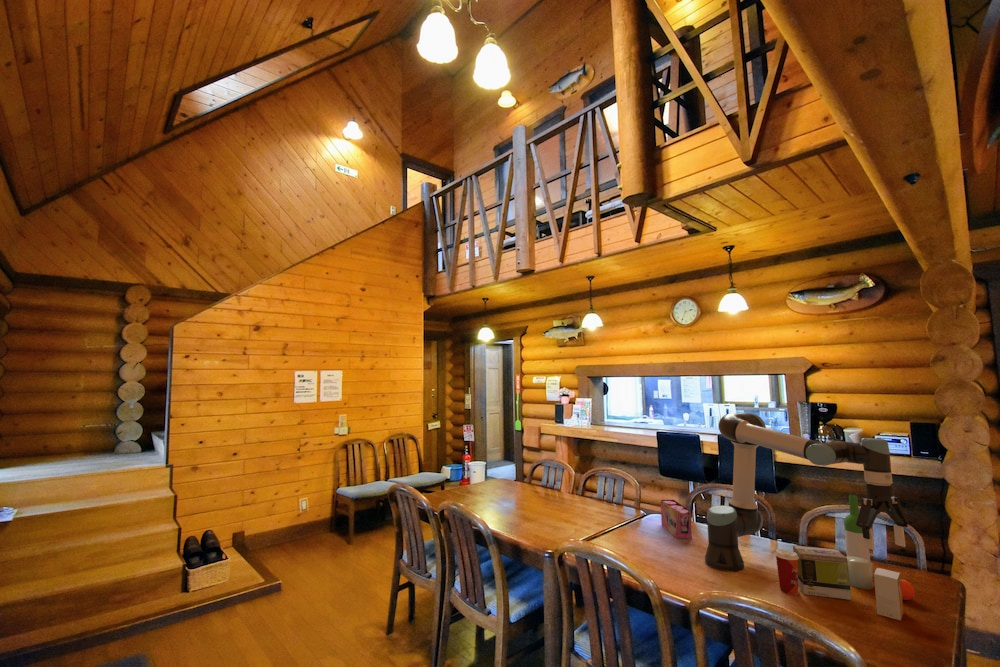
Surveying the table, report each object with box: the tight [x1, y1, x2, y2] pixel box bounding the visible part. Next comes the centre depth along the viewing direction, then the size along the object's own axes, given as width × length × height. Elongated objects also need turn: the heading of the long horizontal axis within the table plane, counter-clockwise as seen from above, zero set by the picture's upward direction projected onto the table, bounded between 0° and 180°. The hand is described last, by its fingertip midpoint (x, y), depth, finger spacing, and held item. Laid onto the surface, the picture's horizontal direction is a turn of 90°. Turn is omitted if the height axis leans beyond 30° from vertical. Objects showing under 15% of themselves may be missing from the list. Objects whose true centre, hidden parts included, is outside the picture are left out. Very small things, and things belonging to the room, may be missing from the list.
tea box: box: [792, 545, 853, 601], centre depth 168 cm, size 15×10×15 cm, turn 71°
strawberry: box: [901, 578, 916, 601], centre depth 162 cm, size 8×7×7 cm
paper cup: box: [774, 549, 799, 596], centre depth 168 cm, size 8×8×14 cm
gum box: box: [660, 499, 693, 539], centre depth 237 cm, size 24×8×14 cm, turn 0°
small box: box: [873, 567, 904, 621], centre depth 152 cm, size 8×6×13 cm
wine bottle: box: [843, 494, 871, 562], centre depth 190 cm, size 8×8×30 cm
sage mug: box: [845, 555, 874, 590], centre depth 174 cm, size 10×8×9 cm
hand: (885, 547), depth 154 cm, fingers open, 13 cm apart
